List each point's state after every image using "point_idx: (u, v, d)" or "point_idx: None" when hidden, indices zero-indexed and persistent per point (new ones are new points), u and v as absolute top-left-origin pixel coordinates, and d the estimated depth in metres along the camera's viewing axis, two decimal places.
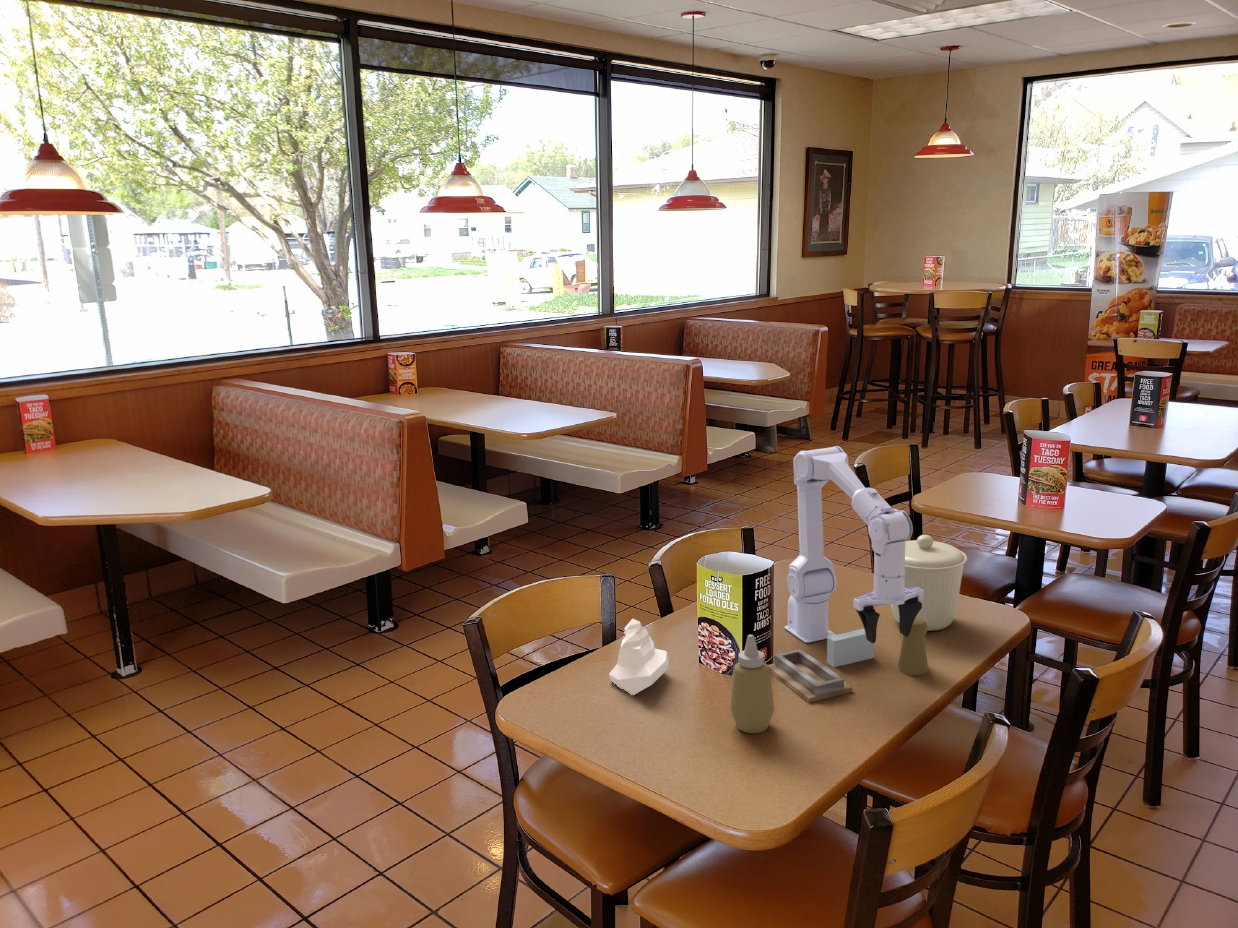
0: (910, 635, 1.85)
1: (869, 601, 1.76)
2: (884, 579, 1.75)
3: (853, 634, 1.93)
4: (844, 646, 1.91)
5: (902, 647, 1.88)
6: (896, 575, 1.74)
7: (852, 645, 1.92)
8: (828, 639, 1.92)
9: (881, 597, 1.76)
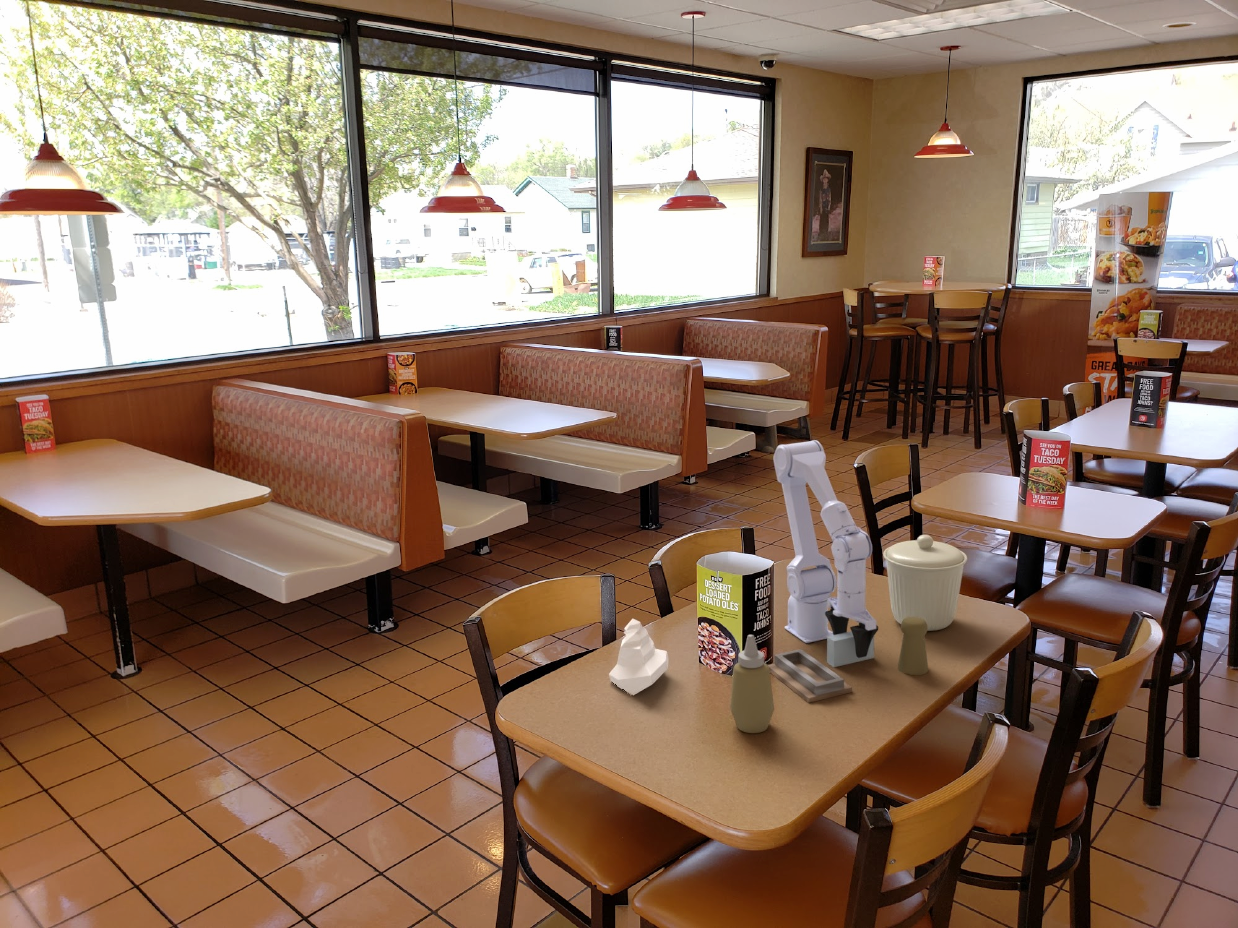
0: (910, 635, 1.85)
1: (831, 602, 1.96)
2: None
3: None
4: (844, 646, 1.91)
5: (902, 647, 1.88)
6: (857, 591, 1.87)
7: (852, 645, 1.92)
8: (828, 639, 1.92)
9: None
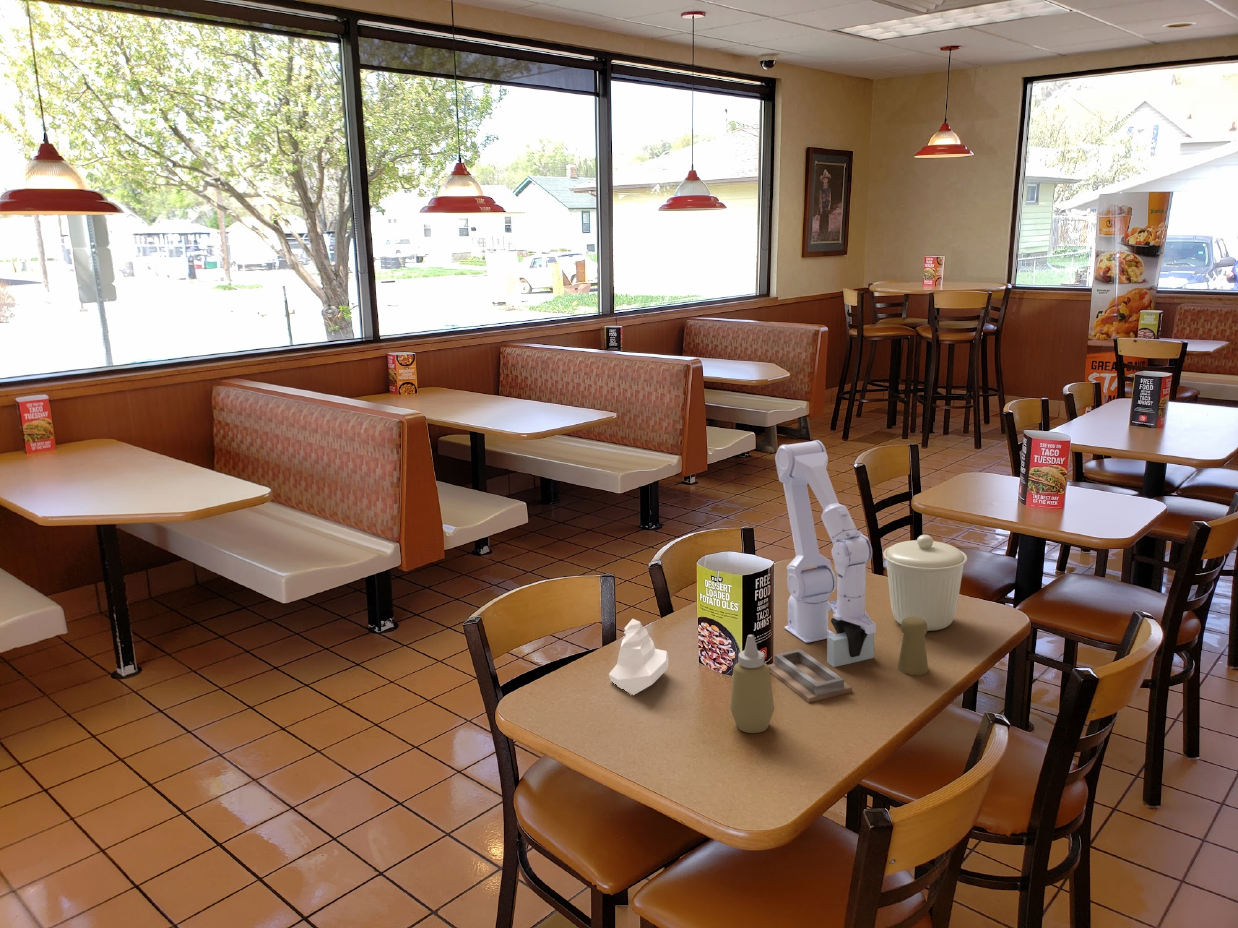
0: (910, 635, 1.85)
1: (831, 606, 1.96)
2: None
3: None
4: (844, 646, 1.91)
5: (902, 647, 1.88)
6: (857, 595, 1.88)
7: None
8: (828, 638, 1.92)
9: None
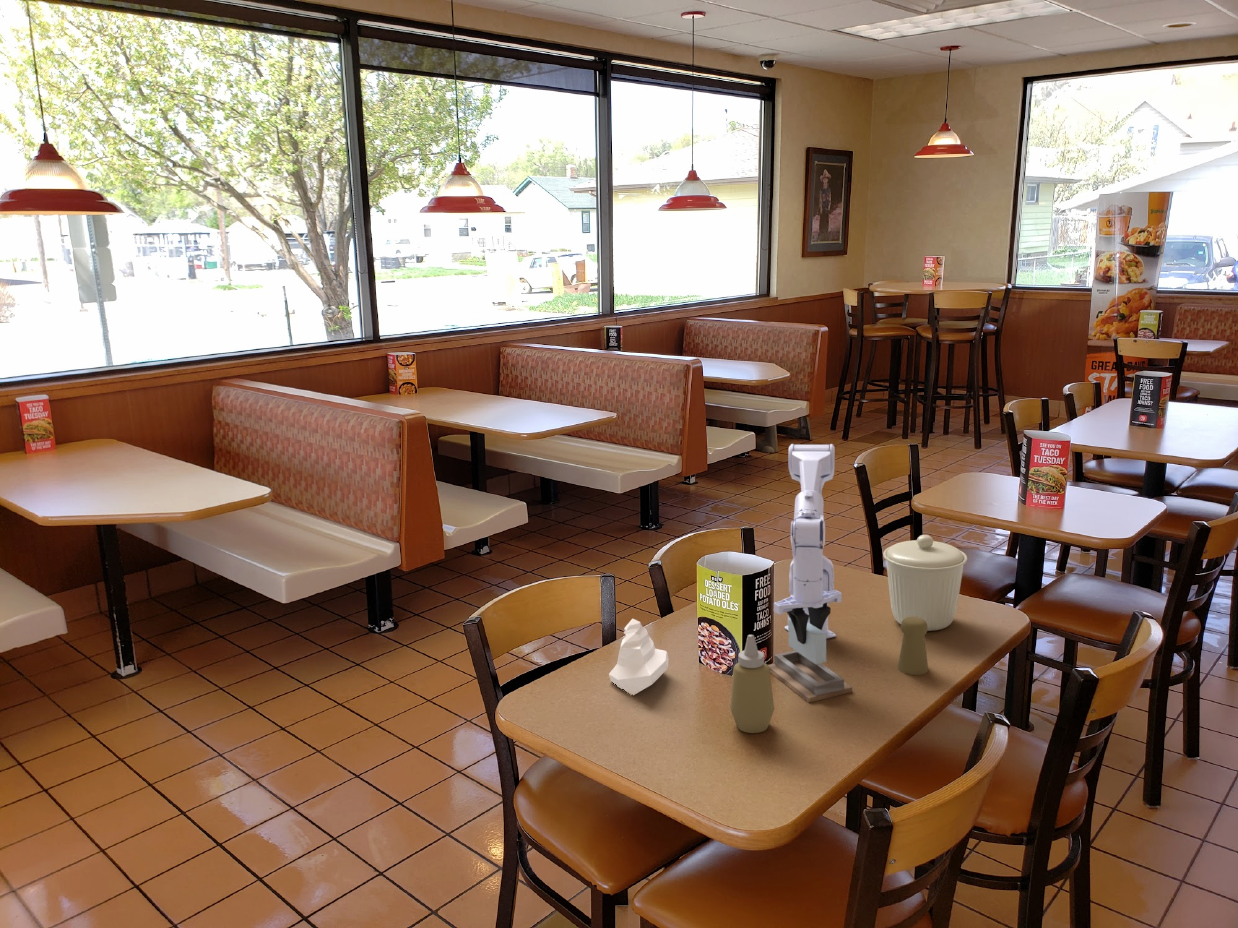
0: (910, 635, 1.85)
1: (789, 605, 1.79)
2: (803, 583, 1.79)
3: None
4: None
5: (902, 647, 1.88)
6: (805, 579, 1.78)
7: None
8: (817, 637, 1.79)
9: (800, 601, 1.80)
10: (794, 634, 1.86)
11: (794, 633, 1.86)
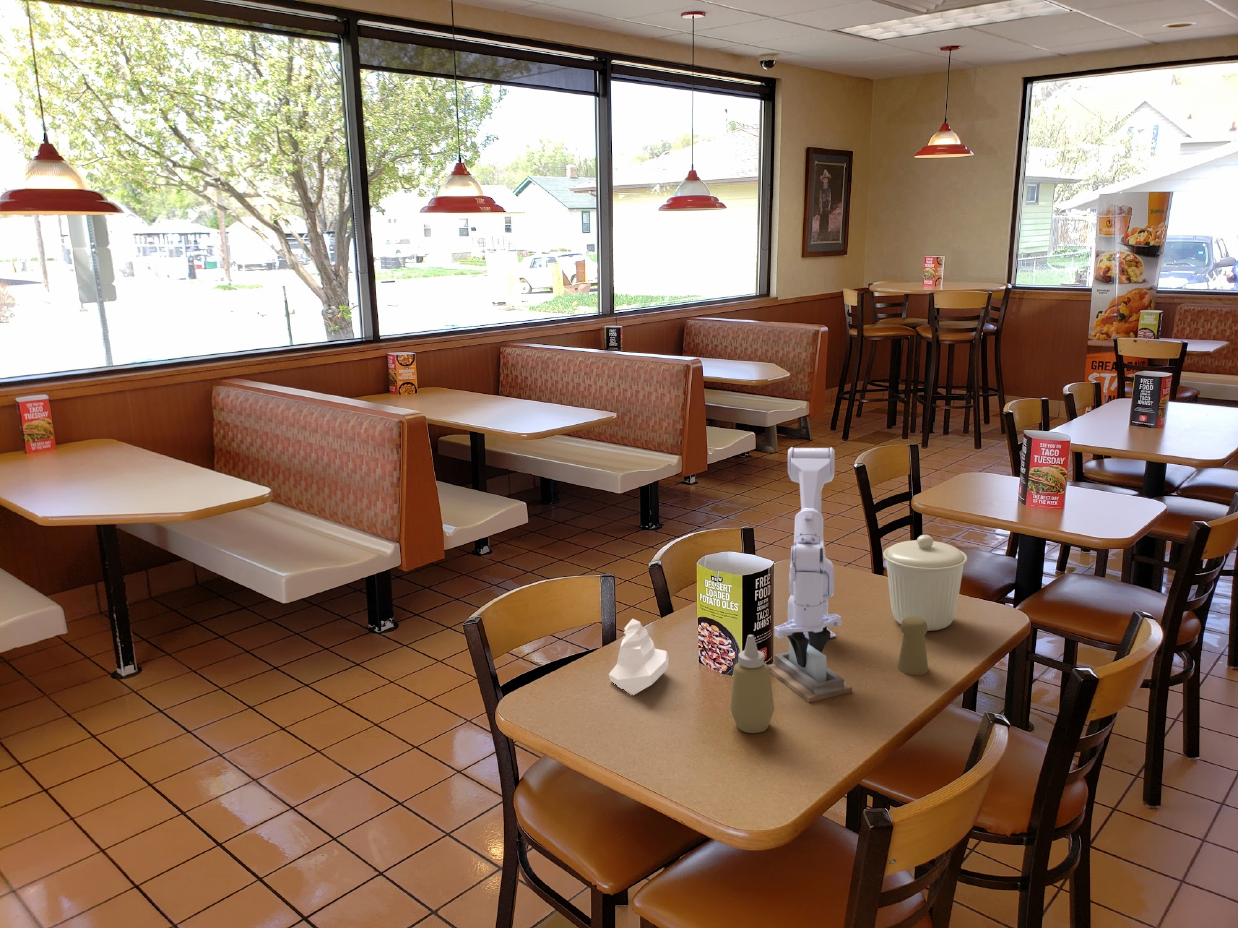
0: (910, 635, 1.85)
1: (789, 629, 1.80)
2: (803, 607, 1.80)
3: None
4: None
5: (902, 647, 1.88)
6: (805, 604, 1.79)
7: None
8: (817, 660, 1.80)
9: (800, 625, 1.81)
10: (794, 655, 1.87)
11: (794, 654, 1.87)
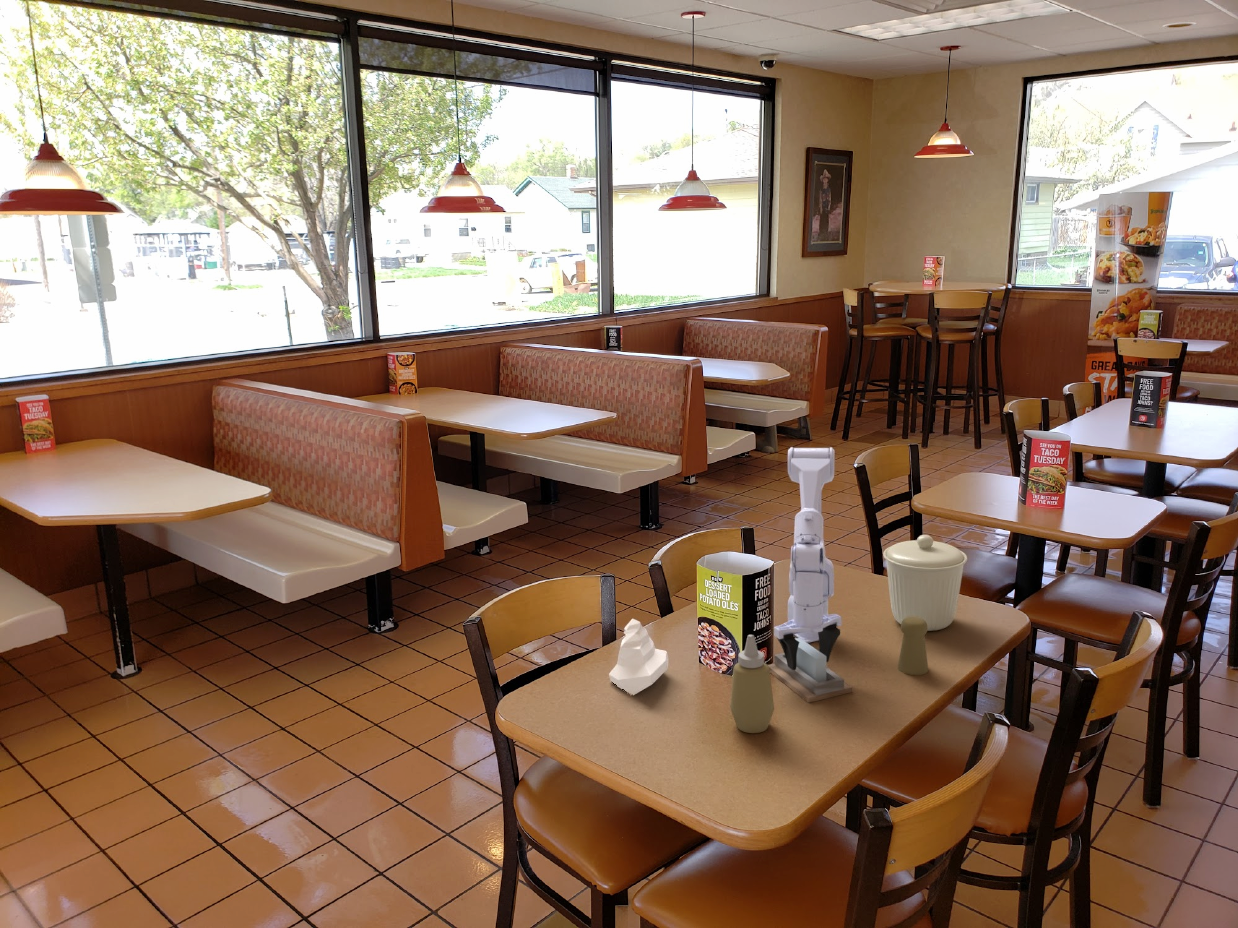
0: (910, 635, 1.85)
1: (789, 629, 1.80)
2: (803, 608, 1.80)
3: (806, 646, 1.85)
4: None
5: (902, 647, 1.88)
6: (805, 604, 1.79)
7: None
8: (817, 660, 1.80)
9: (800, 625, 1.81)
10: None
11: None
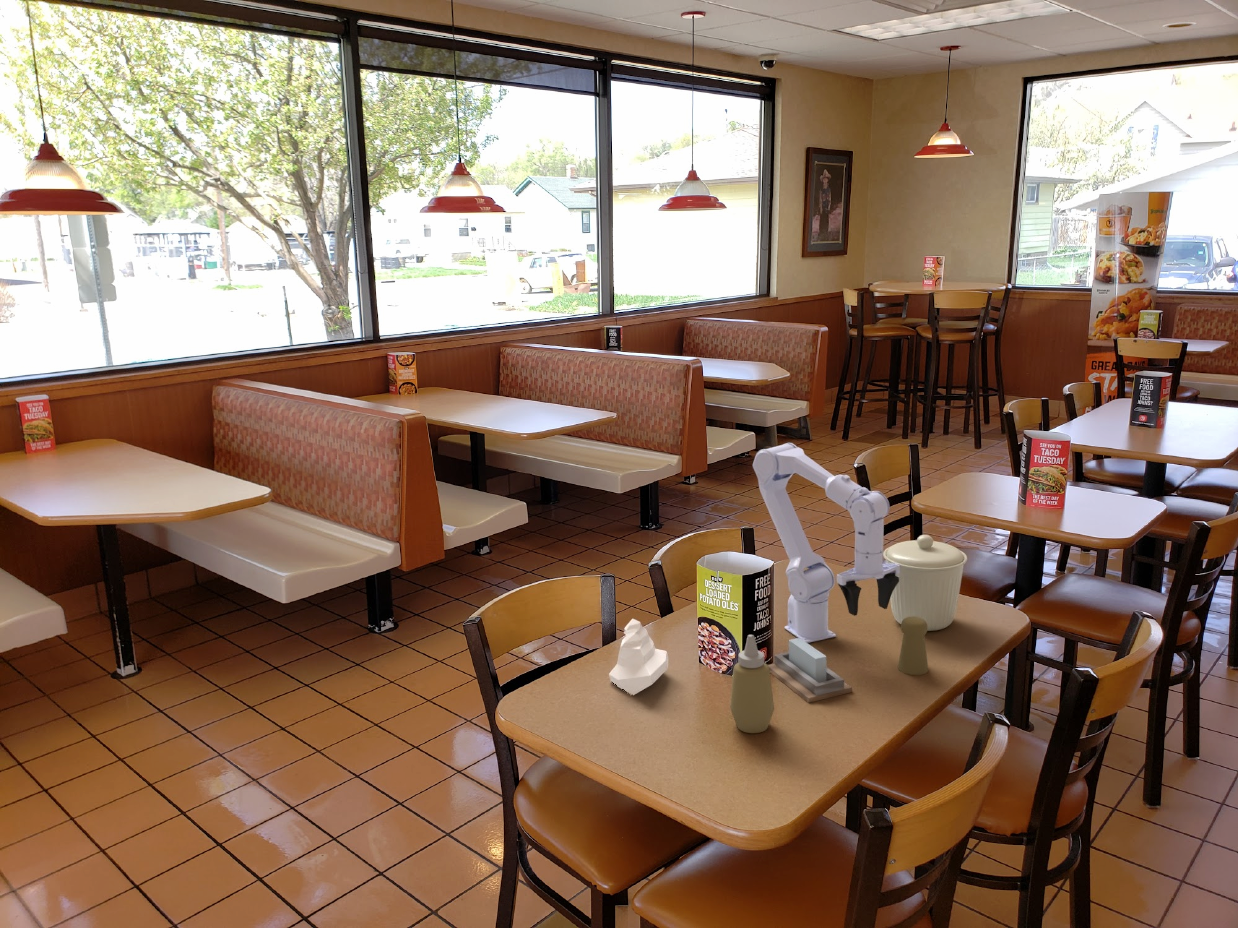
0: (910, 635, 1.85)
1: (851, 576, 1.89)
2: (865, 555, 1.89)
3: (806, 646, 1.85)
4: None
5: (902, 647, 1.88)
6: (879, 551, 1.89)
7: None
8: (817, 660, 1.80)
9: (862, 572, 1.90)
10: (794, 655, 1.87)
11: (794, 654, 1.87)
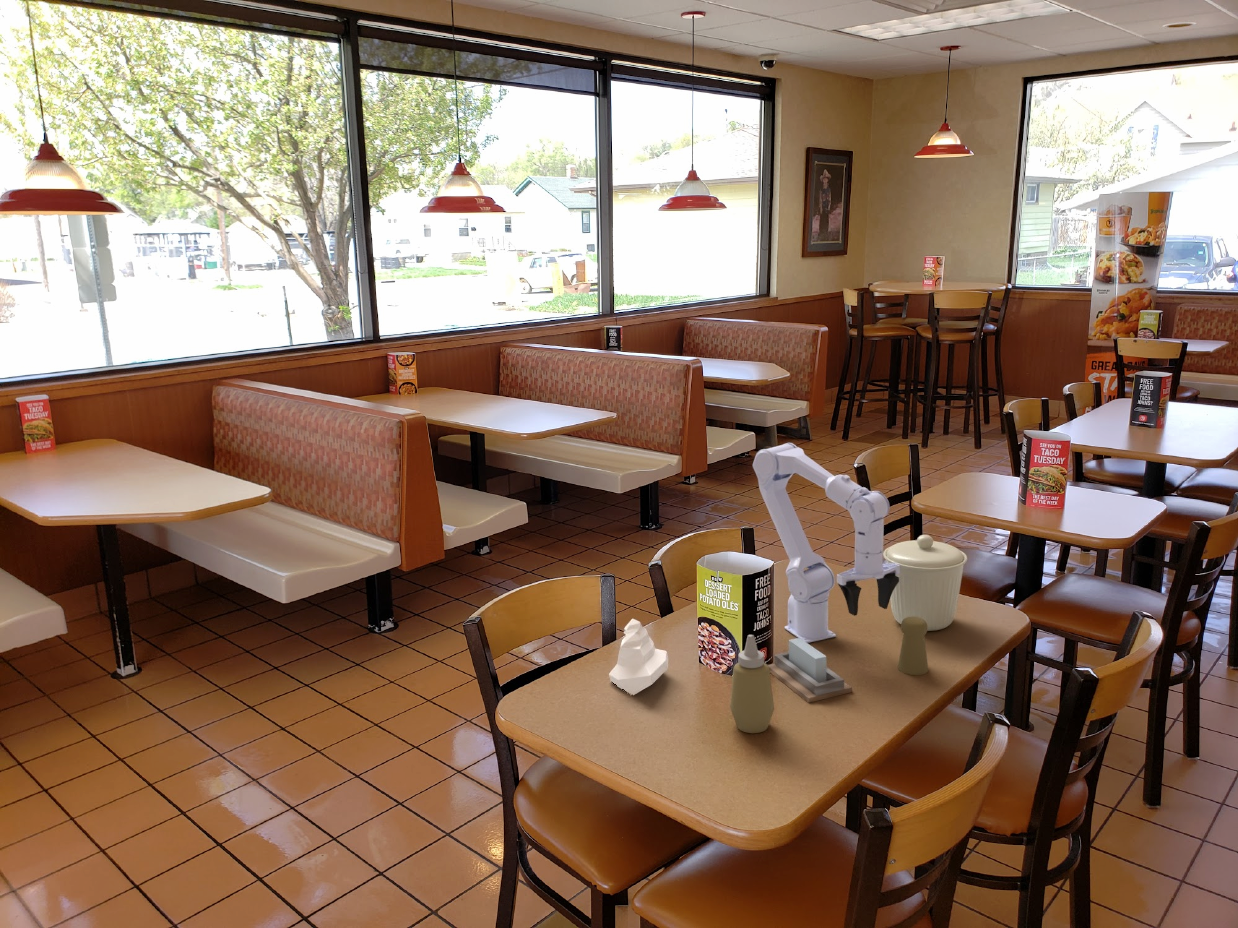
0: (910, 635, 1.85)
1: (851, 576, 1.89)
2: (865, 555, 1.89)
3: (806, 646, 1.85)
4: None
5: (902, 647, 1.88)
6: (879, 551, 1.89)
7: None
8: (817, 660, 1.80)
9: (862, 572, 1.90)
10: (794, 655, 1.87)
11: (794, 654, 1.87)
